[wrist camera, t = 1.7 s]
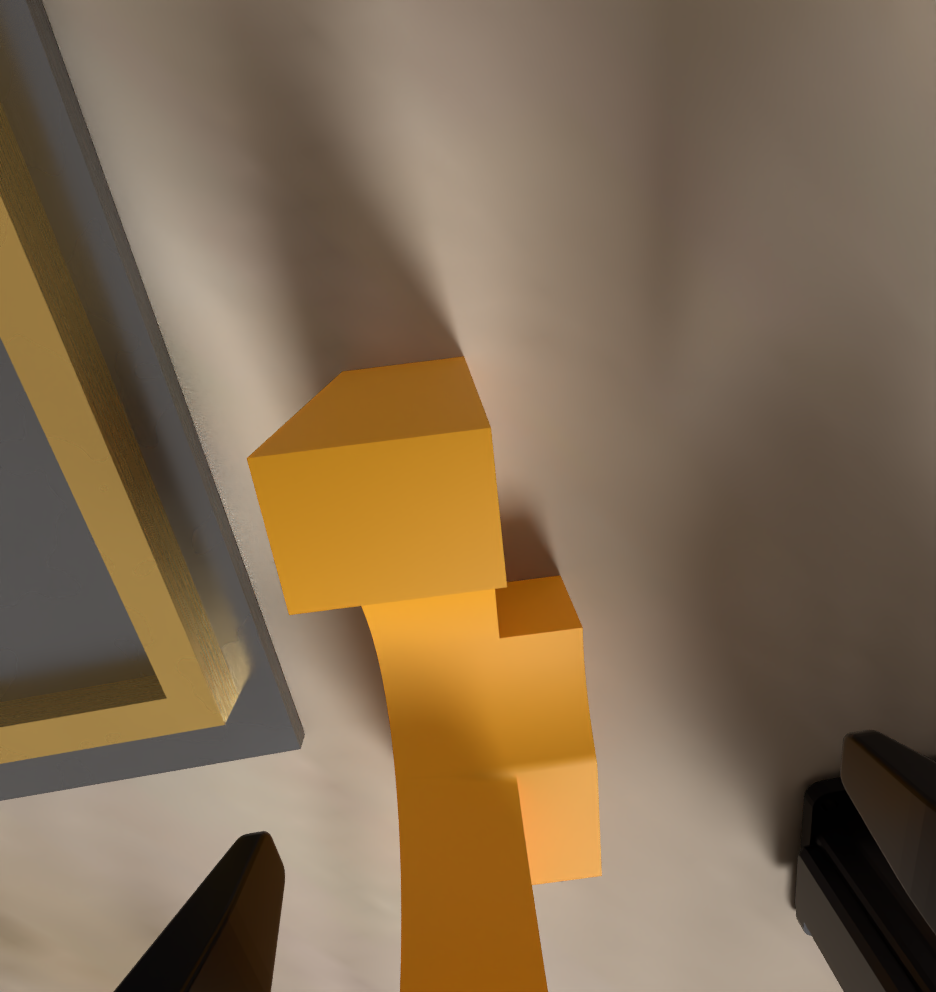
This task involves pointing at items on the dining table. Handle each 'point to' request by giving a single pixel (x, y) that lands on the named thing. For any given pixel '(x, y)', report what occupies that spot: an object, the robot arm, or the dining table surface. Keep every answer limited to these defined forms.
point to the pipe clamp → (444, 660)
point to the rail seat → (104, 486)
